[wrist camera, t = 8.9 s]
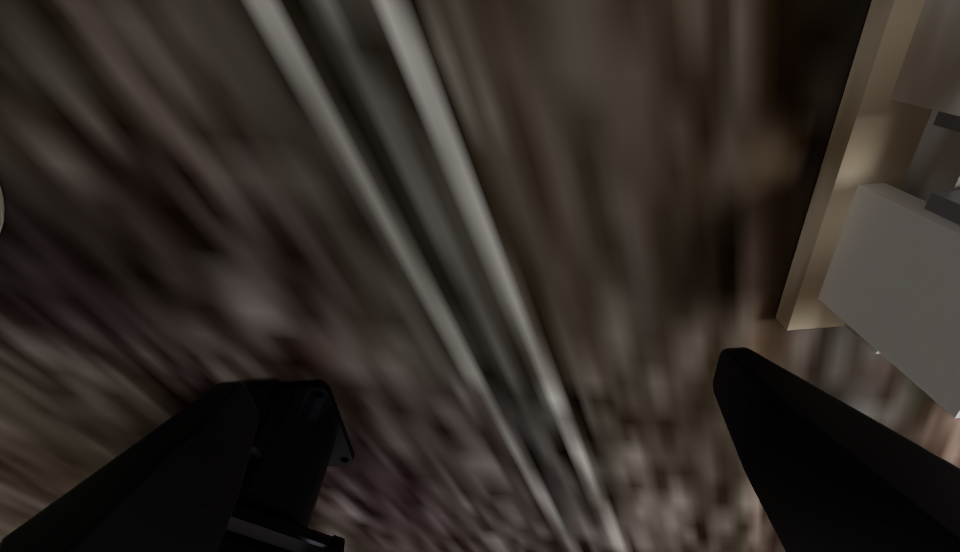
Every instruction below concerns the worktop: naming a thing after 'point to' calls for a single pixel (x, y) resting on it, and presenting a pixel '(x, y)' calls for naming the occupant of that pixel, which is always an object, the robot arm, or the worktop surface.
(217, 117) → the worktop surface
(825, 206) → the rail
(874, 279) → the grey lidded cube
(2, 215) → the grey green cylinder
